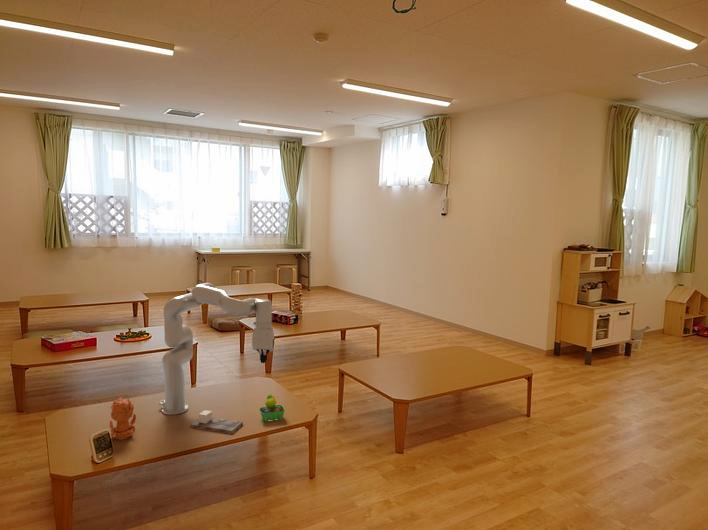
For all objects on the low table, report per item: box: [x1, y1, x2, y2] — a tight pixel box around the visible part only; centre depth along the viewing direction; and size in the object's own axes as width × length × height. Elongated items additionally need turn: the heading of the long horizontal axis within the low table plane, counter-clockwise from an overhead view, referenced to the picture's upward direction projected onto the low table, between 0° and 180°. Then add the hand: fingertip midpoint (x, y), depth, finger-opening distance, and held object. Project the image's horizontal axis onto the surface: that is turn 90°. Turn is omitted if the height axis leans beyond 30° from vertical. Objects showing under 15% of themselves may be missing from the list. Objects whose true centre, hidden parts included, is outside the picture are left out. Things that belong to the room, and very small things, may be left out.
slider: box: [198, 409, 213, 423], centre depth 225 cm, size 4×5×4 cm
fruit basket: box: [258, 394, 286, 422], centre depth 234 cm, size 11×9×11 cm
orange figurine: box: [109, 396, 137, 441], centre depth 211 cm, size 11×11×18 cm
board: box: [189, 416, 244, 435], centre depth 224 cm, size 22×10×2 cm, turn 75°
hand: (263, 362), depth 230 cm, fingers closed
